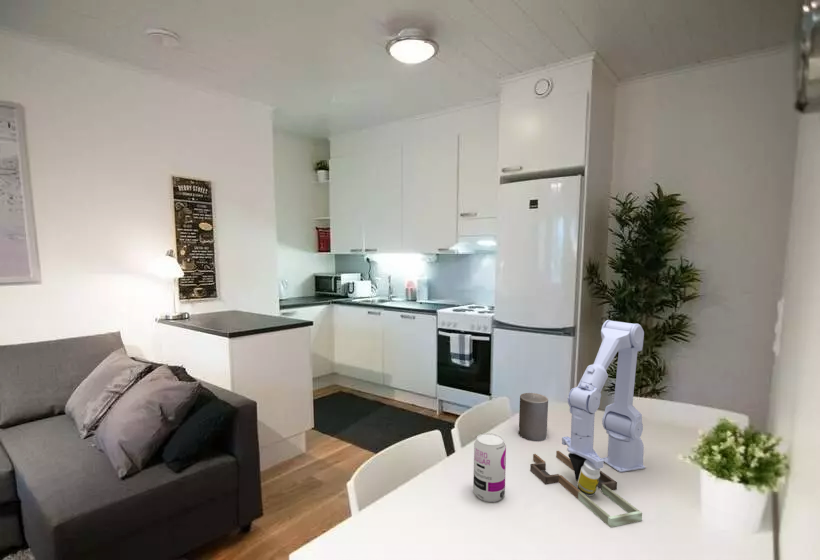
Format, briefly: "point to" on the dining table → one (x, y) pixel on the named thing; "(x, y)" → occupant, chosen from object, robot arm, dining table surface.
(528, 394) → the pillar candle
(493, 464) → the supplement can
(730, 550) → the dining table surface
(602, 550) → the dining table surface
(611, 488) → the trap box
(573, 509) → the dining table surface
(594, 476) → the supplement bottle
